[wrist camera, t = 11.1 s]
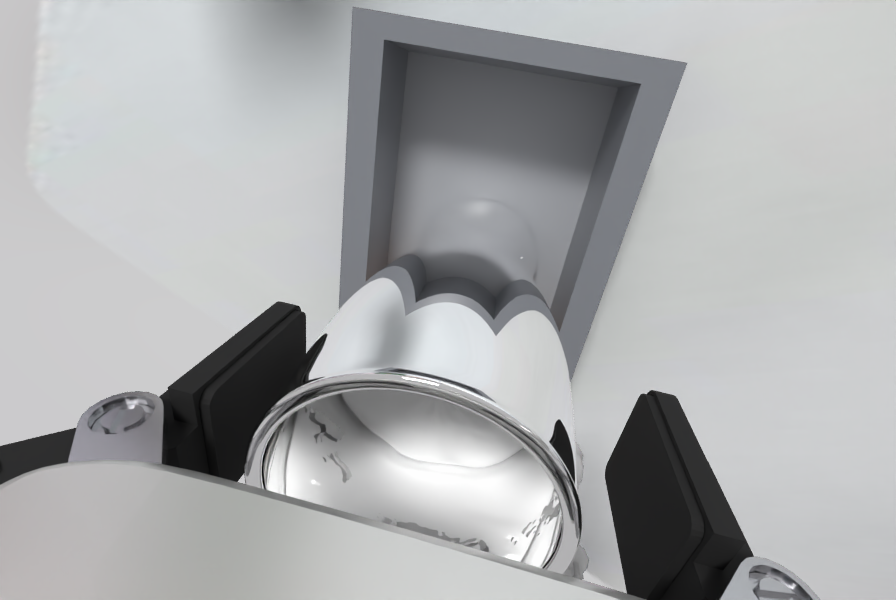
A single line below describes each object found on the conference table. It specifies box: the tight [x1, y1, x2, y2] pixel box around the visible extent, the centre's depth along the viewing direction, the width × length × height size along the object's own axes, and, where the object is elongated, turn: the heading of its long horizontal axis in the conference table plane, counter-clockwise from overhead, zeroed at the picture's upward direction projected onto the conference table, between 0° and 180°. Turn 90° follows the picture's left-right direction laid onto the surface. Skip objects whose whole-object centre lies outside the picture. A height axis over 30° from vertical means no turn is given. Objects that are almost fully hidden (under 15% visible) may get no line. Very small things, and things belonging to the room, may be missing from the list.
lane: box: [339, 7, 687, 382], centre depth 19 cm, size 11×17×5 cm
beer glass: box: [244, 198, 582, 574], centre depth 15 cm, size 7×7×15 cm
